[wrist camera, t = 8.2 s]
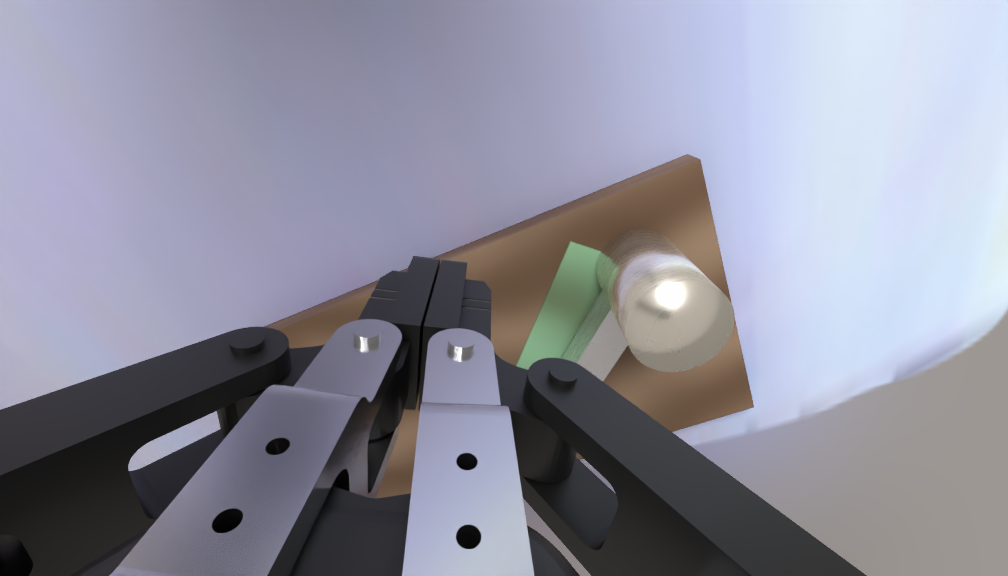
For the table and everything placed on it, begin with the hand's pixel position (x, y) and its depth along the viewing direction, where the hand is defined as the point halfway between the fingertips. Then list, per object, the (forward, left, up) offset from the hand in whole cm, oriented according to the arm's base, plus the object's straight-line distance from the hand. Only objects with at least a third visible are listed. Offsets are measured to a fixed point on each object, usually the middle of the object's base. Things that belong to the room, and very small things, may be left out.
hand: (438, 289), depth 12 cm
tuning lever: (+10, +2, -9) cm, 14 cm away
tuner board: (+10, -2, -11) cm, 15 cm away
